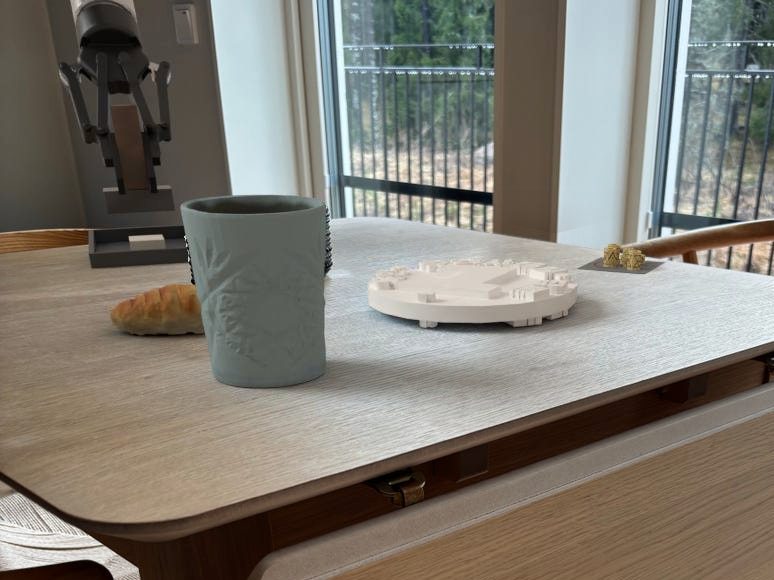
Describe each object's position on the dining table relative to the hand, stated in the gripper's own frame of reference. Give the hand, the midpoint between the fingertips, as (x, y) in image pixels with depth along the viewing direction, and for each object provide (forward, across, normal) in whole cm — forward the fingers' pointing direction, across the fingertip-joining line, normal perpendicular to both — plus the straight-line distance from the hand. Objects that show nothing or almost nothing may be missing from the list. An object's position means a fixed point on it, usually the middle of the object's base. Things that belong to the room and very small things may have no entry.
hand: (137, 185), depth 117 cm
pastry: (+35, 0, -24) cm, 42 cm away
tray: (+7, 0, +4) cm, 8 cm away
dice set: (+25, +51, -14) cm, 59 cm away
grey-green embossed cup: (+47, +6, -36) cm, 60 cm away
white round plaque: (+36, +28, -24) cm, 51 cm away
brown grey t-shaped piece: (-1, 0, +5) cm, 5 cm away
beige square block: (+7, 0, +3) cm, 7 cm away
